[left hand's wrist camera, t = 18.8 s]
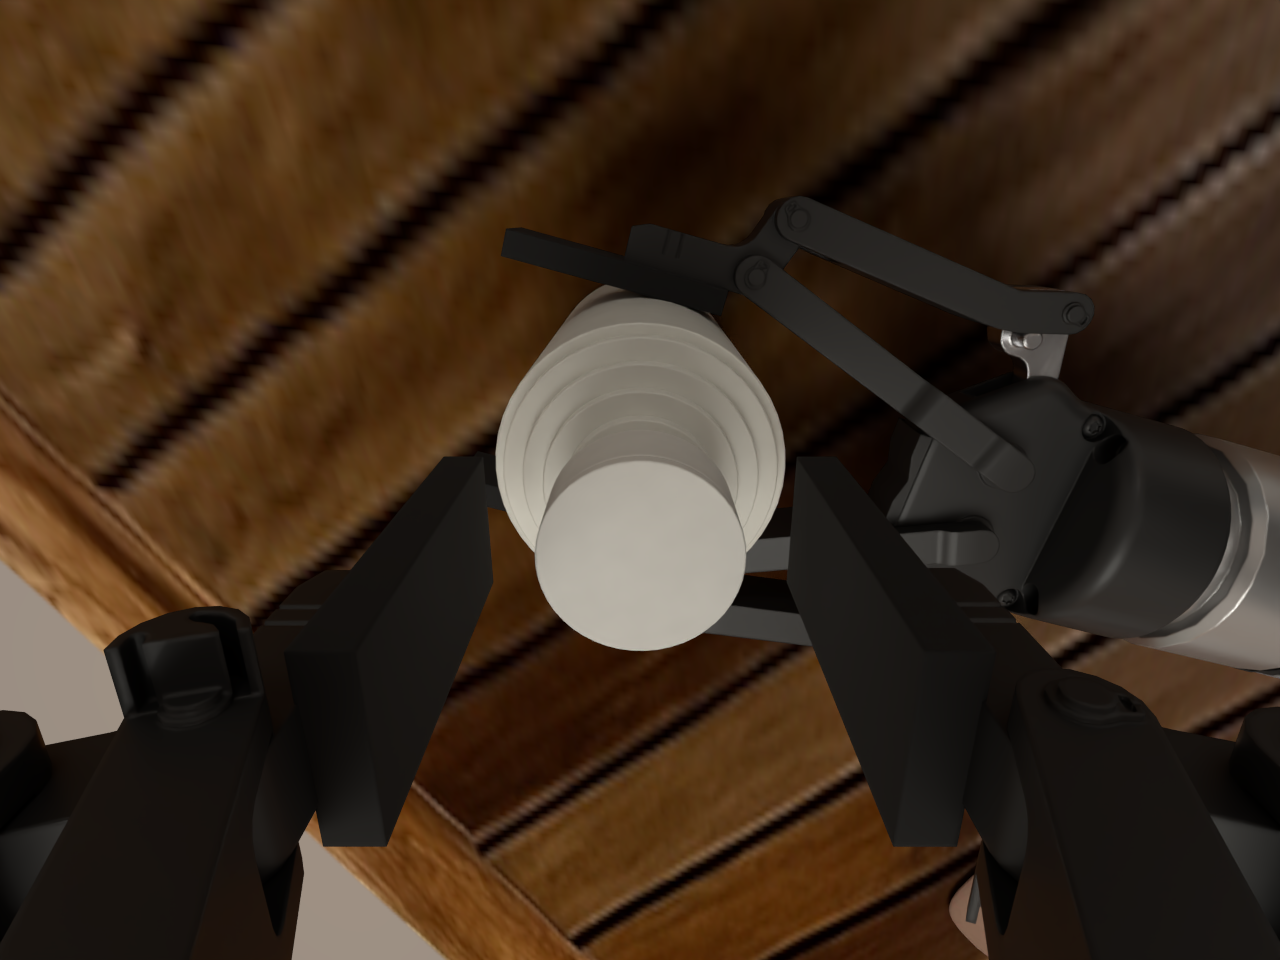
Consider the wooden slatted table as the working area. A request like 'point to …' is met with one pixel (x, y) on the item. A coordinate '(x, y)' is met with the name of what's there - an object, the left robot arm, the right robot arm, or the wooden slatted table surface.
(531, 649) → the wooden slatted table surface
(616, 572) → the cap
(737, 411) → the bottle
